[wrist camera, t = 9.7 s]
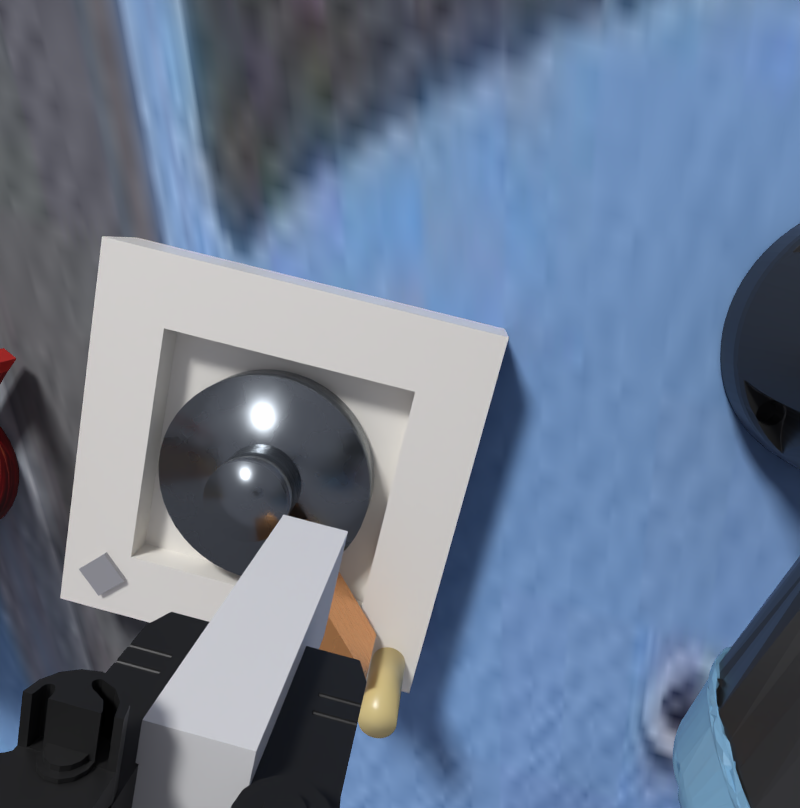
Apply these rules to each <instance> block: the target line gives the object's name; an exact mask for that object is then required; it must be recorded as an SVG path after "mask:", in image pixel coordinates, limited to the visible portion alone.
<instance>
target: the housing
mask: <svg viewBox="0 0 800 808" xmlns="http://www.w3.org/2000/svg"><path fill="white" fill-rule="evenodd" d="M508 338H509V337H508V335H507V333H506V331H505V329H504V328H500V327H495V326H491V325H487V324H483V323H479V322H475V321H471V320H467V319H463V318H459V317H455V316H451V315H447V314H443V313H439V312H435V311H431V310H427V309H423V308H419V307H415V306H411V305H407V304H403V303H399V302H395V301H391V300H387V299H383V298H379V297H375V296H371V295H366V294H362V293H358V292H354V291H350V290H346V289H342V288H338V287H334V286H330V285H326V284H322V283H318V282H314V281H310V280H306V279H302V278H298V277H294V276H290V275H286V274H282V273H278V272H274V271H270V270H266V269H262V268H258V267H254V266H250V265H246V264H242V263H237V262H233V261H229V260H225V259H221V258H217V257H213V256H209V255H205V254H201V253H197V252H193V251H189V250H185V249H181V248H177V247H173V246H169V245H165V244H161V243H157V242H153V241H149V240H145V239H141V238H133V237H105V236H102V242H101V251H100V259H99V268H98V277H97V285H96V294H95V303H94V311H93V320H92V329H91V337H90V346H89V354H88V363H87V372H86V380H85V389H84V398H83V406H82V415H81V424H80V432H79V441H78V449H77V458H76V467H75V475H74V484H73V493H72V501H71V510H70V519H69V527H68V536H67V544H66V553H65V562H64V570H63V579H62V588H61V596H60V598H61V599H65V600H68V601H72V602H76V603H80V604H83V605H87V606H91V607H94V608H98V609H102V610H105V611H109V612H113V613H116V614H120V615H124V616H127V617H131V618H135V619H138V620H142V621H146V622H149V623H151V622H153V621H155V620H156V619H158V618H160V617H162V616H164V615H166V614H168V613H170V612H175V613H178V614H182V615H186V616H190V617H193V618H197V619H201V620H204V621H208V622H210V621H211V619H212V618H213V616H214V615H215V613H216V612H217V611H218V609H219V608H220V606H221V605H222V603H223V602H224V600H225V599H226V597H227V596H228V595H229V593H230V592H231V590H232V589H233V587H234V586H235V584H236V583H237V582H238V580H239V579H240V577H241V576H240V575H237V574H234V573H232V572H229V571H227V570H225V569H223V568H221V567H219V566H217V565H215V564H213V563H212V562H210V561H209V560H207V559H206V558H205V557H203V556H202V555H201V554H200V553H198V552H197V551H196V550H195V549H194V548H193V547H192V546H191V545H190V544H189V543H188V542H187V541H186V540H185V539H184V538H183V536H182V535H181V533H180V532H179V531H178V529H177V528H176V527H175V525H174V523H173V521H172V519H171V518H170V516H169V514H168V511H167V509H166V506H165V504H164V501H163V497H162V493H161V490H160V483H159V457H160V450H161V446H162V443H163V439H164V436H165V434H166V432H167V429H168V427H169V425H170V423H171V422H172V420H173V419H174V417H175V416H176V414H177V413H178V412H179V410H180V409H181V408H182V407H183V406H184V405H185V404H186V403H187V402H188V401H189V400H190V399H191V398H193V397H194V396H195V395H196V394H198V393H199V392H201V391H203V390H204V389H206V388H207V387H209V386H211V385H213V384H215V383H217V382H219V381H221V380H223V379H225V378H227V377H229V376H232V375H235V374H238V373H241V372H245V371H252V370H263V369H272V370H281V371H287V372H291V373H295V374H299V375H301V376H304V377H307V378H309V379H312V380H314V381H315V382H317V383H319V384H321V385H323V386H324V387H326V388H327V389H329V390H330V391H331V392H333V393H334V394H335V395H336V396H338V397H339V398H340V399H341V400H342V401H343V402H344V403H345V404H346V405H347V406H348V407H349V409H350V410H351V411H352V412H353V413H354V415H355V416H356V418H357V419H358V421H359V422H360V424H361V426H362V428H363V430H364V432H365V434H366V436H367V438H368V441H369V444H370V447H371V450H372V456H373V461H374V475H375V477H374V488H373V493H372V497H371V502H370V504H369V507H368V510H367V512H366V515H365V518H364V520H363V523H362V525H361V528H360V529H359V531H358V533H357V535H356V537H355V538H354V540H353V541H352V542H351V544H350V545H349V546H348V548H347V549H346V550H345V551H344V552H343V556H342V560H341V564H340V569H339V572H340V574H341V576H342V577H343V579H344V581H345V582H346V584H347V586H348V587H349V589H350V591H351V592H352V594H353V596H354V598H355V599H356V601H357V603H358V604H359V606H360V608H361V609H362V611H363V613H364V614H365V616H366V618H367V619H368V621H369V623H370V625H371V626H372V628H373V630H374V631H375V633H376V638H375V643H374V647H373V651H372V656H371V660H370V664H369V669H368V673H367V677H366V681H367V683H366V688H365V692H364V696H363V701H362V705H361V709H360V714H359V718H358V723H359V726H360V728H361V730H362V731H363V732H364V733H365V734H367V735H368V736H371V737H374V738H384V737H387V736H389V735H391V734H392V733H393V732H394V730H395V728H396V724H397V717H398V710H399V703H400V697H401V691H403V692H407V693H409V692H410V688H411V685H412V681H413V678H414V674H415V670H416V667H417V663H418V660H419V656H420V653H421V649H422V645H423V642H424V638H425V635H426V631H427V628H428V624H429V620H430V617H431V613H432V610H433V606H434V603H435V599H436V595H437V592H438V588H439V585H440V581H441V578H442V574H443V570H444V567H445V563H446V560H447V556H448V553H449V549H450V545H451V542H452V538H453V535H454V531H455V528H456V524H457V520H458V517H459V513H460V510H461V506H462V503H463V499H464V495H465V492H466V488H467V485H468V481H469V478H470V474H471V471H472V467H473V463H474V460H475V456H476V453H477V449H478V446H479V442H480V438H481V435H482V431H483V428H484V424H485V421H486V417H487V413H488V410H489V406H490V403H491V399H492V396H493V392H494V388H495V385H496V381H497V378H498V374H499V371H500V367H501V363H502V360H503V356H504V353H505V349H506V346H507V342H508Z"/></svg>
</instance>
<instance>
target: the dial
mask: <svg viewBox="0 0 800 808" xmlns="http://www.w3.org/2000/svg"><path fill="white" fill-rule="evenodd" d="M374 477H375V475H374V461H373V456H372V450H371V447H370V444H369V441H368V438H367V436H366V434H365V432H364V430H363V428H362V426H361V424H360V422H359V421H358V419H357V418H356V416H355V415H354V413H353V412H352V411H351V410H350V409H349V407H348V406H347V405H346V404H345V403H344V402H343V401H342V400H341V399H340V398H339V397H338V396H336V395H335V394H334V393H333V392H331V391H330V390H329V389H327V388H326V387H324V386H323V385H321V384H319V383H317V382H315V381H314V380H312V379H309V378H307V377H304V376H301V375H299V374H295V373H291V372H287V371H281V370H272V369H263V370H252V371H245V372H241V373H238V374H235V375H232V376H229V377H227V378H225V379H223V380H221V381H219V382H217V383H215V384H213V385H211V386H209V387H207V388H206V389H204V390H203V391H201V392H199V393H198V394H196V395H195V396H194V397H193V398H191V399H190V400H189V401H188V402H187V403H186V404H185V405H184V406H183V407H182V408H181V409H180V410H179V412H178V413H177V414H176V416H175V417H174V419H173V420H172V422H171V423H170V425H169V427H168V429H167V432H166V434H165V436H164V439H163V443H162V446H161V450H160V457H159V483H160V490H161V493H162V497H163V501H164V504H165V506H166V509H167V511H168V514H169V516H170V518H171V519H172V521H173V523H174V525H175V527H176V528H177V529H178V531H179V532H180V533H181V535H182V536H183V538H184V539H185V540H186V541H187V542H188V543H189V544H190V545H191V546H192V547H193V548H194V549H195V550H196V551H197V552H198V553H200V554H201V555H202V556H203V557H205V558H206V559H207V560H209V561H210V562H212V563H213V564H215V565H217V566H219V567H221V568H223V569H225V570H227V571H229V572H232V573H234V574H237V575H240V576H242V574H243V573H244V571H245V570H246V568H247V567H248V566H249V564H250V563H251V561H252V560H253V558H254V557H255V555H256V554H257V552H258V551H259V550H260V548H261V547H262V545H263V544H264V542H265V541H266V539H267V538H268V536H269V535H270V534H271V532H272V531H273V529H274V528H275V526H276V525H277V523H278V522H279V520H280V519H281V518H282V516H283V515H287V516H291V517H295V518H299V519H302V520H306V521H310V522H314V523H318V524H322V525H325V526H329V527H333V528H337V529H341V530H345V531H348V534H347V538H346V543H345V547H344V551H345V550H346V549H347V548H348V546H349V545H350V544H351V542H352V541H353V540H354V538H355V537H356V535H357V533H358V531H359V529H360V528H361V525H362V523H363V520H364V518H365V515H366V512H367V510H368V507H369V504H370V502H371V497H372V493H373V488H374ZM344 551H343V552H344ZM375 638H376V633H375V631H374V630H373V628H372V626H371V625H370V623H369V621H368V619H367V618H366V616H365V614H364V613H363V611H362V609H361V608H360V606H359V604H358V603H357V601H356V599H355V598H354V596H353V594H352V592H351V591H350V589H349V587H348V586H347V584H346V582H345V581H344V579H343V577H342V576H341V574H340V572H339V573H338V577H337V582H336V586H335V590H334V594H333V599H332V603H331V607H330V612H329V616H328V620H327V625H326V629H325V633H324V637H323V640H322V642H321V645H320V648H319V649H320V650H324V651H327V652H331V653H335V654H338V655H342V656H346V657H350V658H353V659H357V660H360V662H361V665H362V669H363V672H364V675H365V678H366V677H367V673H368V669H369V664H370V660H371V656H372V651H373V647H374V643H375Z"/></svg>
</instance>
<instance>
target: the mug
mask: <svg viewBox="0 0 800 808" xmlns="http://www.w3.org/2000/svg"><path fill="white" fill-rule="evenodd" d="M15 360H16V358H15V357H14V356H13V355H11V354H10V353H9V352H8V351H6V350H5V349H4V348H3V349H0V383H1V382H2V380H3V378H4V377H5V375H6V373H7V371H8V370H9V369H10V367H11V366H12V364H13V363H14V361H15ZM18 485H19V468H18V463H17V459H16V454H15V452H14V449H13V447H12V445H11V442H10V440H9V439H8V437H7V435H6V434H5V432H4V431H3V429H2V428H1V427H0V519H2V518H3V517H4V516H5V515H6V513H7V512H8V511H9V509H10V508H11V507H12V505H13V502H14V500H15V497H16V495H17V490H18Z"/></svg>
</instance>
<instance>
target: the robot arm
mask: <svg viewBox="0 0 800 808" xmlns="http://www.w3.org/2000/svg"><path fill="white" fill-rule="evenodd" d="M720 360H721V371H722V377H723V382H724V386H725V390H726V393H727V396H728V399H729V401H730V403H731V406H732V408H733V409H734V411H735V413H736V415H737V417H738V418H739V420H740V421H741V423H742V424H743V425H744V427H745V428H746V429H747V430H748V432H749V433H750V434H751V435H752V436H753V437H754V438H755V439H756V440H757V441H758V442H759V443H760V444H762V445H763V446H764V447H765V448H767V449H768V450H770V451H771V452H773V453H774V454H776V455H777V456H779V457H780V458H782V459H783V460H785V461H786V462H788V463H789V464H791V465H792V466H794V467H796V468H798V469H800V224H798V225H797V226H795V227H794V228H792V229H791V230H789V231H788V232H787V233H785V234H784V235H783V236H781V237H780V238H779V239H778V240H777V241H776V242H774V243H773V244H772V245H771V246H770V247H769V248H768V249H767V250H766V251H765V252H764V253H763V254H762V255H761V257H760V258H759V259H758V260H757V261H756V262H755V264H754V265H753V266H752V267H751V269H750V270H749V272H748V273H747V274H746V276H745V277H744V279H743V281H742V282H741V284H740V286H739V288H738V289H737V291H736V293H735V295H734V297H733V300H732V302H731V305H730V307H729V310H728V313H727V316H726V319H725V323H724V327H723V333H722V339H721V359H720ZM347 534H348V531H345V530H341V529H337V528H333V527H329V526H325V525H322V524H318V523H314V522H310V521H306V520H302V519H299V518H295V517H291V516H287V515H283V516H282V518H281V519H280V520H279V522H278V523H277V525H276V526H275V528H274V529H273V531H272V532H271V534H270V535H269V536H268V538H267V539H266V541H265V542H264V544H263V545H262V547H261V548H260V550H259V551H258V552H257V554H256V555H255V557H254V558H253V560H252V561H251V563H250V564H249V566H248V567H247V568H246V570H245V571H244V573H243V574H242V576H241V577H240V579H239V580H238V582H237V583H236V584H235V586H234V587H233V589H232V590H231V592H230V593H229V595H228V596H227V597H226V599H225V600H224V602H223V603H222V605H221V606H220V608H219V609H218V611H217V612H216V613H215V615H214V616H213V618H212V619H211V621H210V622H208V621H204V620H201V619H197V618H193V617H190V616H186V615H182V614H178V613H175V612H170V613H168V614H166V615H164V616H162V617H160V618H158V619H156V620H155V621H153V622H151V623H149V624H147V625H146V626H145V627H144V629H143V630H142V631H141V632H140V633H139V634H138V636H137V637H136V638H135V639H134V640H133V641H132V643H131V645H130V647H127V649H126V650H125V651H124V652H123V653H122V654H121V656H120V657H119V658H118V660H117V662H116V663H114V664H113V665H112V666H111V667H110V669H109V670H108V671H107V672H106V673H103V672H98V671H90V670H82V669H81V670H73V671H65V672H59V673H56V674H54V675H51V676H48V677H45V678H43V679H40V680H38V681H37V682H36V683H34V684H33V685H31V686H30V687H29V688H27V689H26V690H24V691H23V696H22V706H21V716H20V726H19V735H18V745H17V747H16V748H15V749H14V750H13V751H9V752H5V753H0V808H340V797H341V792H342V788H343V784H344V779H345V775H346V771H347V766H348V762H349V757H350V753H351V749H352V744H353V740H354V736H355V731H356V727H357V722H358V718H359V714H360V709H361V705H362V701H363V696H364V692H365V688H366V683H367V681H366V678H365V675H364V672H363V669H362V665H361V662H360V660H357V659H353V658H350V657H346V656H342V655H338V654H335V653H331V652H327V651H324V650H320V649H319V648H320V645H321V642H322V640H323V637H324V633H325V629H326V625H327V620H328V616H329V612H330V607H331V603H332V599H333V594H334V590H335V586H336V582H337V577H338V573H339V569H340V564H341V560H342V556H343V551H344V547H345V543H346V538H347ZM673 766H674V773H675V778H676V781H677V784H678V787H679V789H678V799H679V803H680V807H681V808H800V556H799V558H798V559H797V560H796V562H795V563H794V564H793V566H792V567H791V568H790V570H789V571H788V572H787V574H786V575H785V576H784V578H783V579H782V580H781V582H780V583H779V584H778V586H777V587H776V588H775V590H774V591H773V592H772V594H771V595H770V596H769V598H768V599H767V600H766V602H765V603H764V604H763V606H762V607H761V608H760V610H759V611H758V612H757V614H756V615H755V616H754V618H753V619H752V621H751V622H750V623H749V625H748V626H747V627H746V629H745V630H744V631H743V633H742V634H741V635H740V637H739V638H738V639H737V641H736V642H735V643H734V645H733V646H732V647H727V648H725V649H724V650H723V651H722V652H721V653H720V654H719V655H718V656H717V658H716V659H715V661H714V663H713V665H712V667H711V671H710V674H709V679H708V681H707V682H706V684H705V685H704V687H703V688H702V690H701V691H700V693H699V695H698V696H697V698H696V699H695V701H694V702H693V704H692V706H691V707H690V709H689V710H688V712H687V713H686V715H685V716H684V718H683V719H682V721H681V723H680V725H679V728H678V730H677V733H676V737H675V741H674V748H673Z"/></svg>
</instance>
